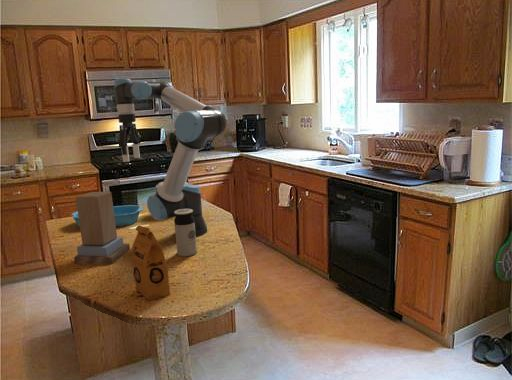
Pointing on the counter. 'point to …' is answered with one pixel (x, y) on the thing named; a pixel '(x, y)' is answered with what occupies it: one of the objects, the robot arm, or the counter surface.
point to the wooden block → (96, 218)
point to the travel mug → (185, 232)
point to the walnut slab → (103, 257)
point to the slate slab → (100, 248)
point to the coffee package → (149, 265)
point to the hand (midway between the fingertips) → (131, 159)
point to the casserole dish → (120, 214)
